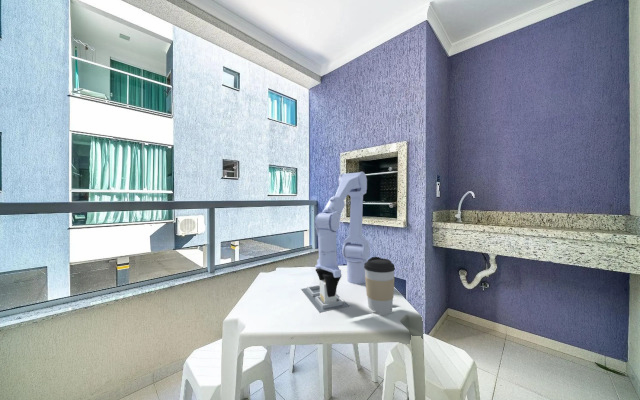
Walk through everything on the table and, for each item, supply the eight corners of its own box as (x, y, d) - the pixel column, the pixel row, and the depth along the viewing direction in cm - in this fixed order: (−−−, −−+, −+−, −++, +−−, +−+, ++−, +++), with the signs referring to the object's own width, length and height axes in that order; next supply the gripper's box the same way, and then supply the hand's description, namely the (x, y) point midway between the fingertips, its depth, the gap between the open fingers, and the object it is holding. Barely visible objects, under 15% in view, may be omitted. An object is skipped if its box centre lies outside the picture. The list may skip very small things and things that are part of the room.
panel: (325, 286, 85) (325, 282, 85) (350, 308, 67) (350, 302, 67) (300, 291, 81) (300, 286, 81) (319, 315, 64) (319, 309, 64)
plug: (331, 296, 73) (330, 276, 73) (336, 301, 69) (336, 280, 69) (319, 299, 71) (319, 278, 71) (324, 304, 67) (324, 282, 67)
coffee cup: (401, 315, 63) (400, 262, 63) (371, 318, 61) (370, 264, 61) (387, 301, 72) (386, 255, 72) (360, 304, 70) (359, 256, 70)
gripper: (308, 247, 75) (309, 287, 75) (324, 256, 62) (325, 305, 62) (327, 245, 78) (328, 284, 78) (347, 254, 65) (347, 300, 64)
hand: (328, 293), depth 70 cm, fingers open, 4 cm apart
